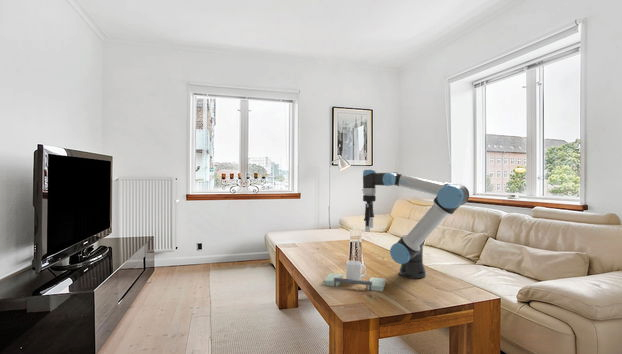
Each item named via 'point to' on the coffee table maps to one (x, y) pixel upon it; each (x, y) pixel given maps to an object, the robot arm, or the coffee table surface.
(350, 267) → the mug
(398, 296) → the coffee table surface
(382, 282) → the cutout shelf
